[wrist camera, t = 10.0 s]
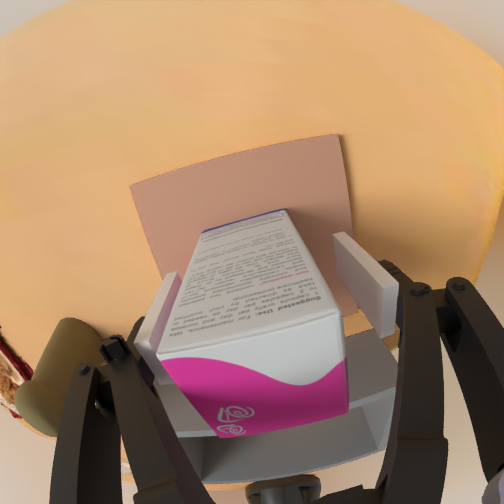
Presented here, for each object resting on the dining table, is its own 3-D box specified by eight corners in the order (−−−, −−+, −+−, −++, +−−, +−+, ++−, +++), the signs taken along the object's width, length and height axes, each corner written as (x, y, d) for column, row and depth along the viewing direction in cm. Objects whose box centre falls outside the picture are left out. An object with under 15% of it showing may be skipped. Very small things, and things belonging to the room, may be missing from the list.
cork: (75, 308, 20) (14, 393, 10) (118, 354, 22) (79, 446, 12) (48, 330, 21) (-2, 402, 11) (87, 369, 23) (51, 447, 13)
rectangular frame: (367, 406, 28) (384, 449, 21) (200, 439, 29) (197, 483, 22) (375, 327, 22) (408, 380, 16) (150, 374, 23) (134, 430, 17)
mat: (355, 308, 21) (357, 312, 21) (194, 345, 22) (194, 349, 21) (334, 133, 16) (337, 133, 16) (132, 184, 17) (129, 186, 16)
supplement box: (198, 231, 18) (148, 353, 7) (285, 205, 17) (354, 303, 7) (225, 303, 20) (218, 443, 9) (303, 282, 19) (358, 412, 9)
